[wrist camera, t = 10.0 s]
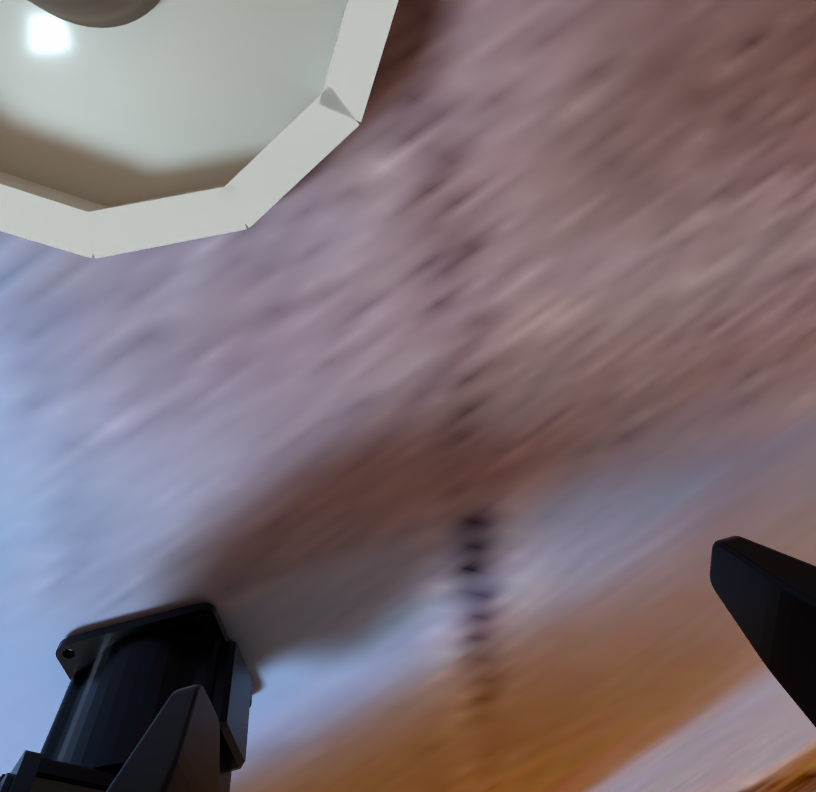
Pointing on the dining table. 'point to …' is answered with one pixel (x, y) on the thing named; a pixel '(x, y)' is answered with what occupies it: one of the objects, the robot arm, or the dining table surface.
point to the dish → (174, 115)
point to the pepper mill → (97, 11)
